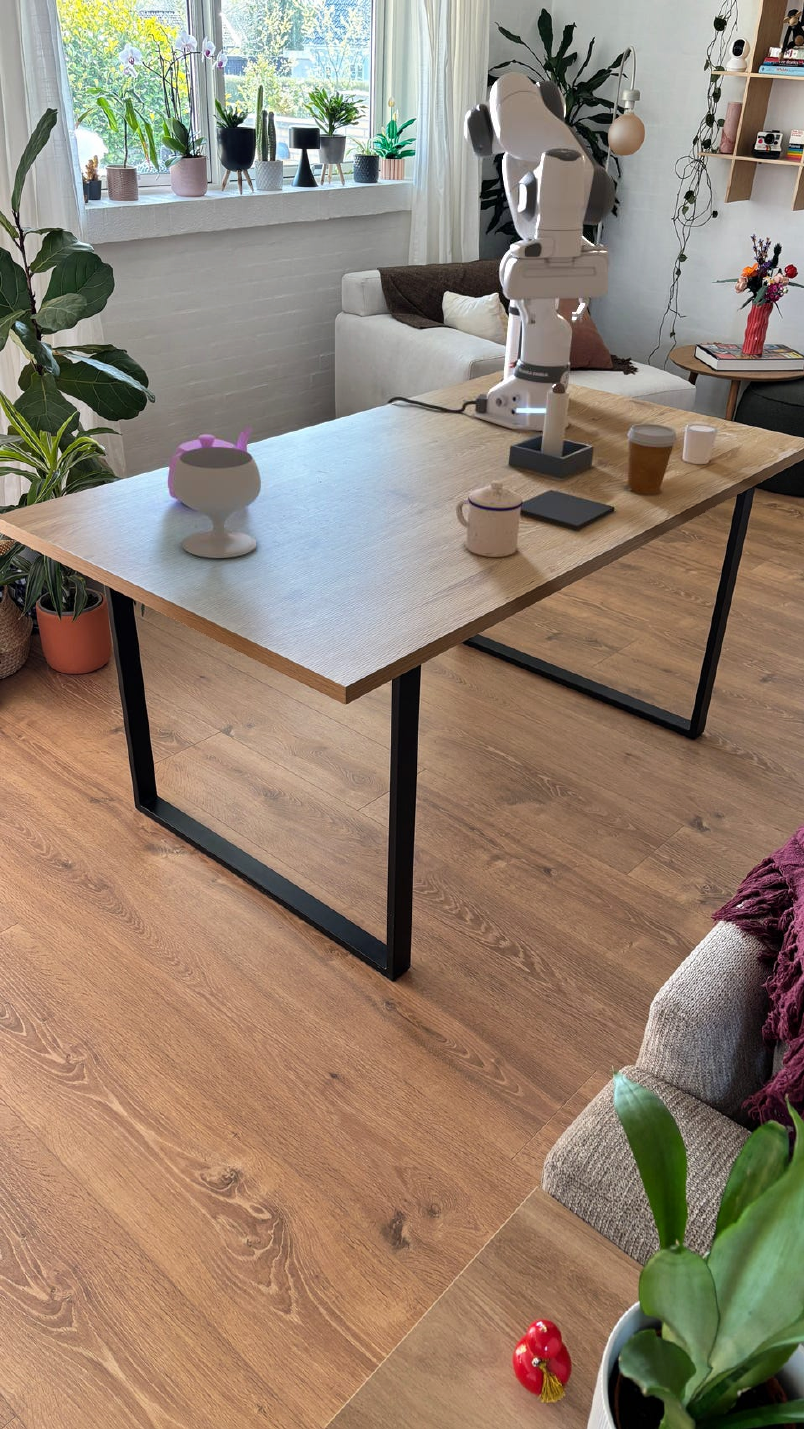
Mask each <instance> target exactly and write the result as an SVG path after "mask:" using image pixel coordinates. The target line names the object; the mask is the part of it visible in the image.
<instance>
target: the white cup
mask: <svg viewBox="0 0 804 1429" xmlns="http://www.w3.org/2000/svg"><path fill="white" fill-rule="evenodd" d="M718 430H719V429H718V428H716V427H715V426H711V425H707V424H701V423H700V424H698V423H695V424H694V423H692V424H691V423H690V424H686V425H685V427H684V439H683V449H682V450H683V451H682V461H683V462H686V463H689V464H694V465H706V464H709V463H710V459H711V456H712V452H713V449H714V445H715V442H716V438H717V435H718Z"/></svg>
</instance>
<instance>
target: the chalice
mask: <svg viewBox="0 0 804 1429" xmlns="http://www.w3.org/2000/svg"><path fill="white" fill-rule="evenodd" d="M259 470H260V469H259V467H258V464H257V462H256V461H255V459H254V457H253V456H252V454H251V453H249V452H248V451H247V452H245V451H243V450H239V449H234V448H226V447H205V448H198V449H193V450H189V451H186V452H184V453H183V454H181V455H180V457H179V458H178V461H177V463H176V466H175V470H174V475H173V489H174V492H175V494H176V496H177V497H178V499H179V500H180V501H179V500H178V501H179V502H181V503H182V504H184V506H187V507H188V508H189V509H192V510H194V511H197V512H199V513H201V514H203V515H205V516H206V517H208V519H209V520H210V521H211V524H212V526H213V529H212V530H204V531H200V532H197V533H194V534H191V535H190V536H188V537H186V538H185V539H184V540H183V542H182V545H181V546H182V548H183V549H184V550H185V551H186V552H188V553H189V554H192V555H195V556H198V557H202V558H212V559H223V558H224V559H225V558H235V557H239V556H243V555H246V554H248V553H250V552H252V551H254V550H255V549H256V547H257V544H258V543H257V541H256V539H255V538H254V537H252V536H251V535H250V534H247V533H245V532H241V531H236V530H228V529H226V528H225V526H226V522H227V520H228V519H229V517H230V516H232V515H233V514H234V513H237V512H239V511H241V510H243V509H245V508H247V507H248V506H250V505H251V504H253V503H254V502H255V501H256V500H257V498H258V497H259V495H260V492H261V490H262V480H261V474H260V471H259Z"/></svg>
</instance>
